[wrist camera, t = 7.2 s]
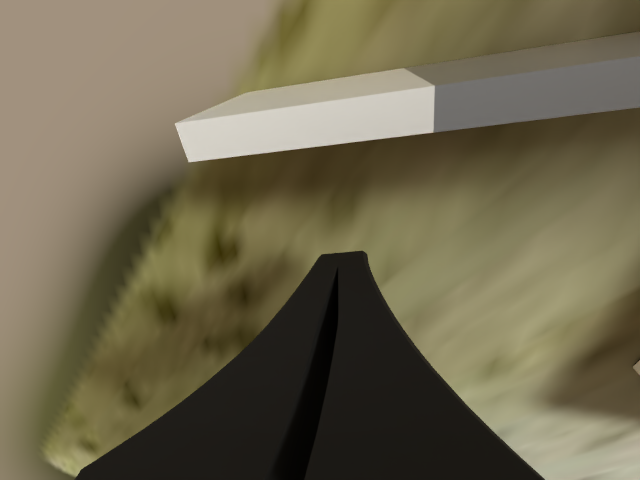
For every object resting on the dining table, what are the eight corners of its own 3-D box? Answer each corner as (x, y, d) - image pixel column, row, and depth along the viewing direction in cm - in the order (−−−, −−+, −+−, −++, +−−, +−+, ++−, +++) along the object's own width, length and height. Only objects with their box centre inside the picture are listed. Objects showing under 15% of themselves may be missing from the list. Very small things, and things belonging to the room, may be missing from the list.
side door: (998, 12, 8) (1702, -22, 4) (252, 118, 11) (189, 162, 7) (1030, -30, 7) (1857, -121, 3) (246, 92, 11) (174, 123, 6)
